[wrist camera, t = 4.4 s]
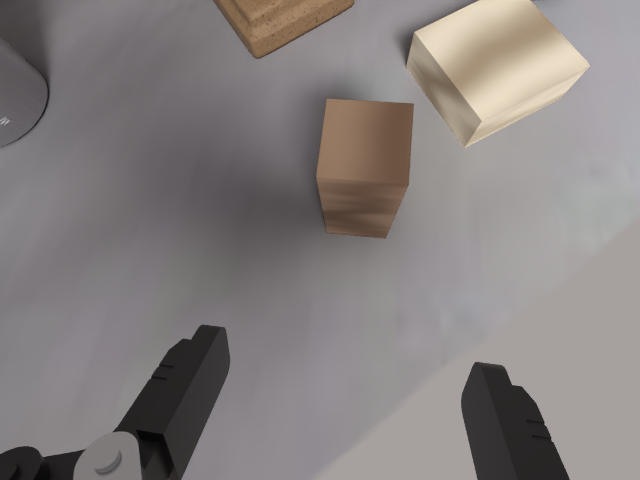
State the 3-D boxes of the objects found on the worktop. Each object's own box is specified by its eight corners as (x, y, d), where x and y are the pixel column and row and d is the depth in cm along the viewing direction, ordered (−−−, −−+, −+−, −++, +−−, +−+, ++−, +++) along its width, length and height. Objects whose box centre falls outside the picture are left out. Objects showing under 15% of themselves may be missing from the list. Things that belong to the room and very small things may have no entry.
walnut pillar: (326, 232, 26) (316, 177, 17) (333, 179, 28) (326, 98, 18) (385, 238, 26) (408, 184, 16) (389, 184, 27) (413, 103, 17)
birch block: (405, 70, 30) (414, 32, 26) (493, 26, 31) (514, -18, 27) (463, 150, 28) (481, 121, 24) (557, 101, 28) (590, 65, 24)
